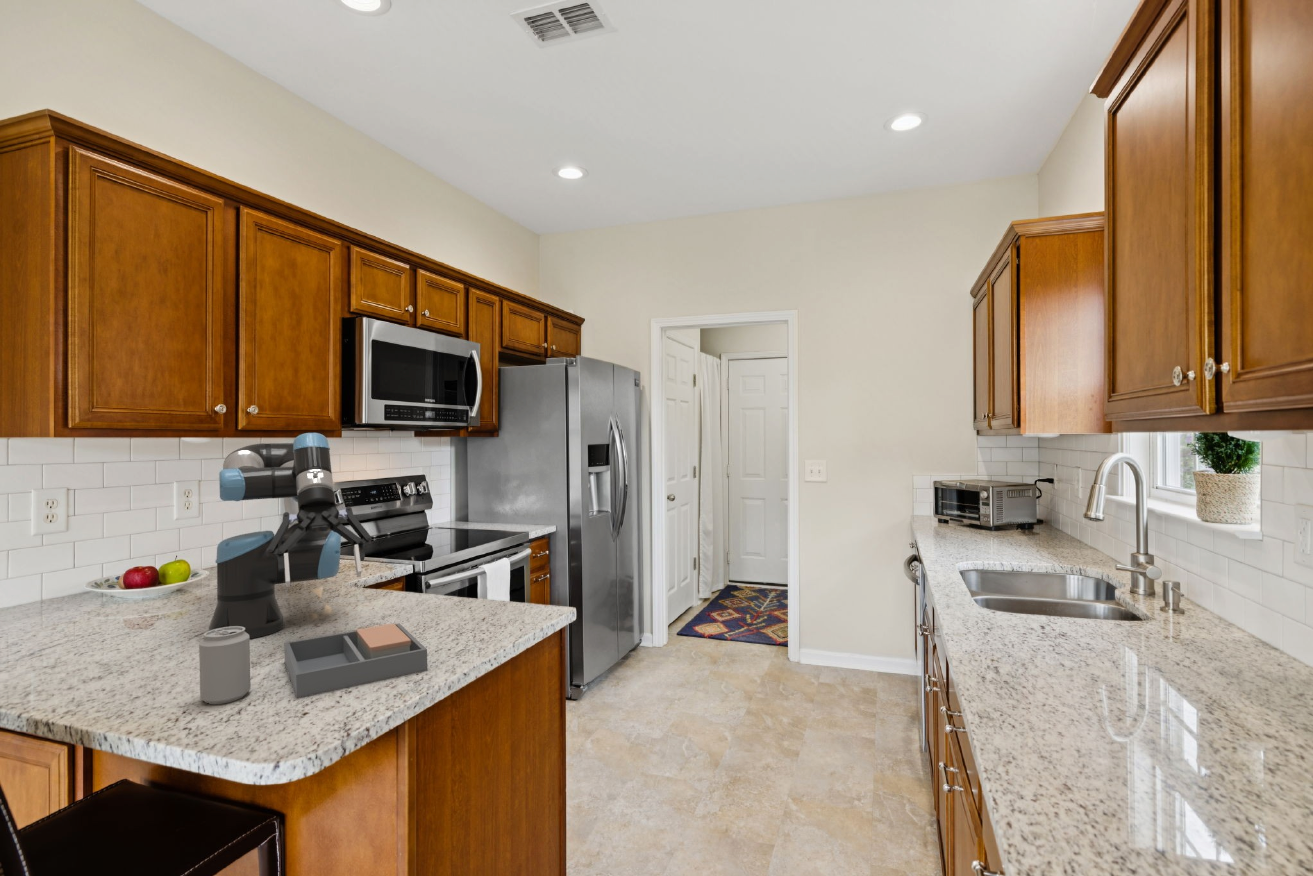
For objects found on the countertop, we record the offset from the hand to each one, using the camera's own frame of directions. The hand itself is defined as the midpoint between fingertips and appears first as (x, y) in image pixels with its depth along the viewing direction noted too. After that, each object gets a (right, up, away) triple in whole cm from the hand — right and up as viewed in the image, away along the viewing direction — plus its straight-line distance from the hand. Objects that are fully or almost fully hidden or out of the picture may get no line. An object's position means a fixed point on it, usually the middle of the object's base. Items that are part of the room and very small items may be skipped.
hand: (324, 579), depth 138 cm
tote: (+12, -16, -11) cm, 23 cm away
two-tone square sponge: (+16, -15, -8) cm, 23 cm away
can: (-6, -16, -23) cm, 29 cm away
